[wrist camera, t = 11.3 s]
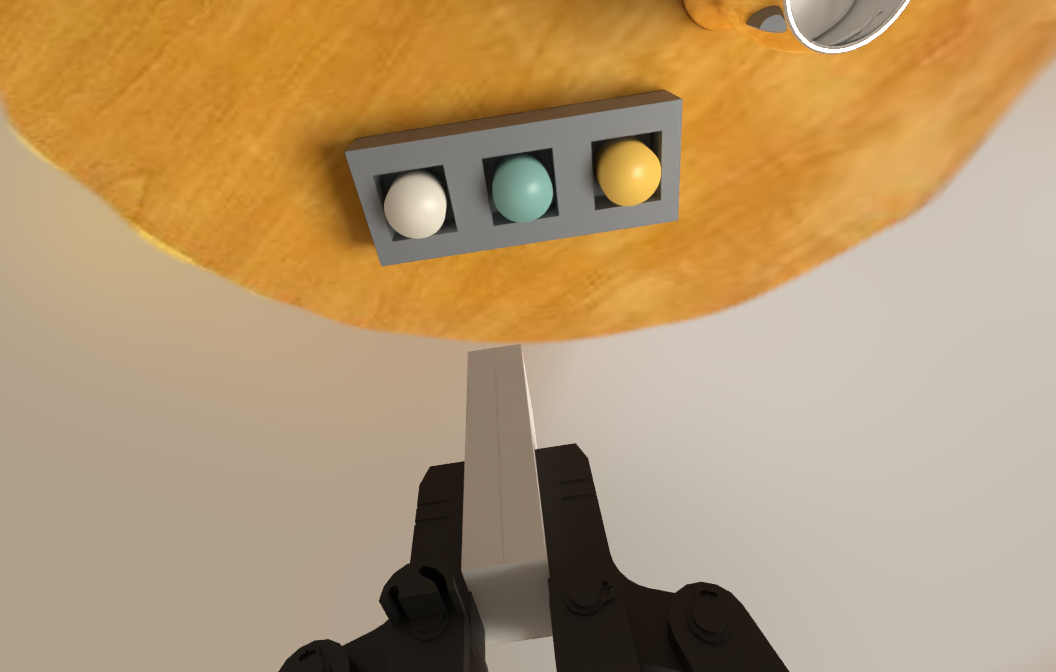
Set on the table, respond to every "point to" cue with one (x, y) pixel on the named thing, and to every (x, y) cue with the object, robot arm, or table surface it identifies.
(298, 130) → the table surface
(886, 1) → the beer glass
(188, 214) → the table surface
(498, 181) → the button teal
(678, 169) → the console
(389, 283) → the table surface
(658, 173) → the button amber
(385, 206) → the button ivory
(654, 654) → the robot arm
